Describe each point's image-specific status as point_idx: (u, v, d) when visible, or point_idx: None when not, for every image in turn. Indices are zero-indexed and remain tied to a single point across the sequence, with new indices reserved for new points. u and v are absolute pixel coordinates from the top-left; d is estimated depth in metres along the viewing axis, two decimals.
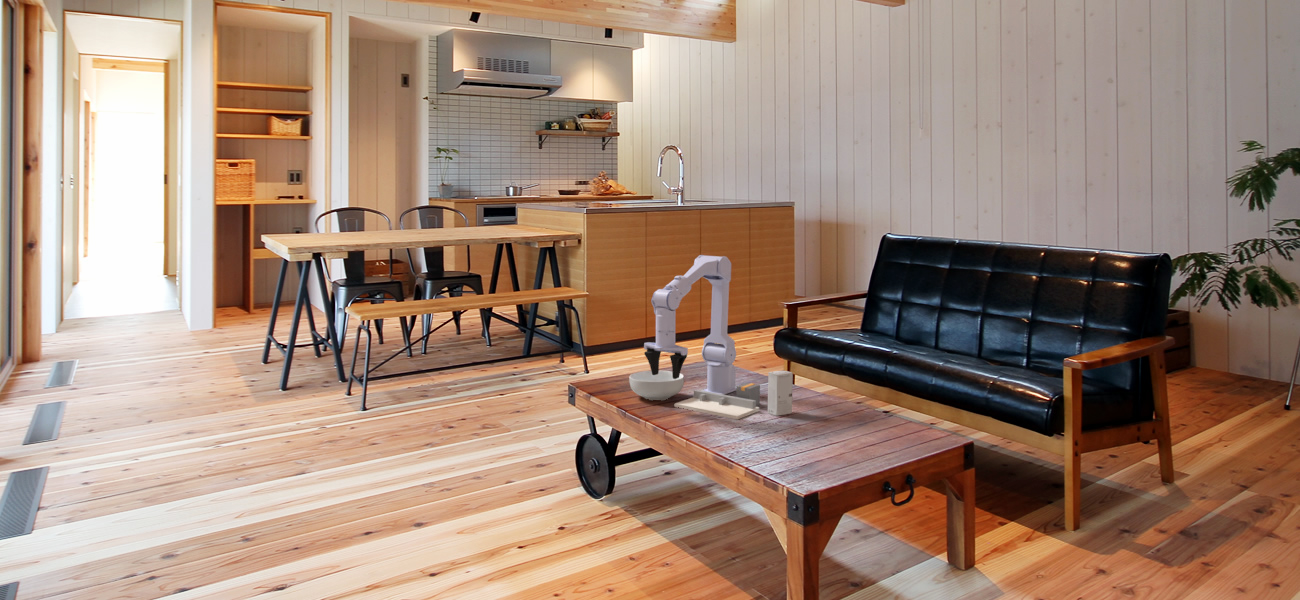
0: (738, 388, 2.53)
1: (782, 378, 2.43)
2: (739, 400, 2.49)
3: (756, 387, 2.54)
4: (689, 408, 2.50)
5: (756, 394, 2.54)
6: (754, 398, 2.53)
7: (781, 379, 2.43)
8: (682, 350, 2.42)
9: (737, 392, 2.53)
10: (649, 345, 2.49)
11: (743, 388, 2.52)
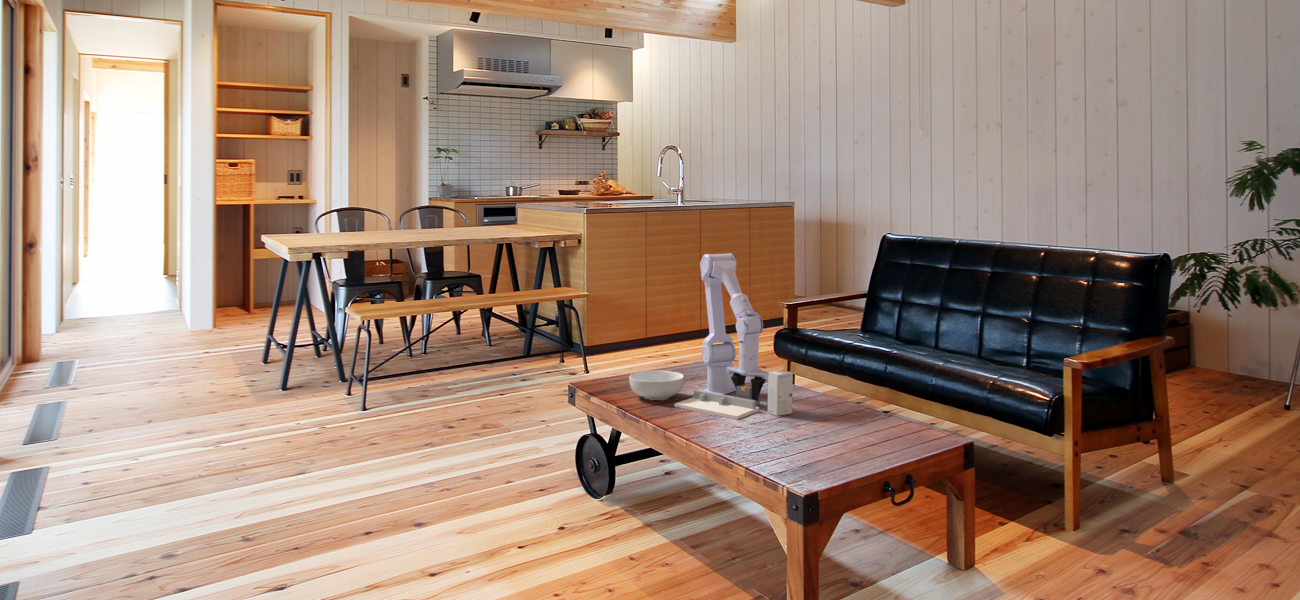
0: (738, 388, 2.53)
1: (783, 378, 2.43)
2: (739, 400, 2.49)
3: None
4: (689, 408, 2.50)
5: None
6: None
7: (781, 379, 2.43)
8: (766, 375, 2.49)
9: (737, 392, 2.53)
10: (732, 369, 2.56)
11: (743, 388, 2.52)
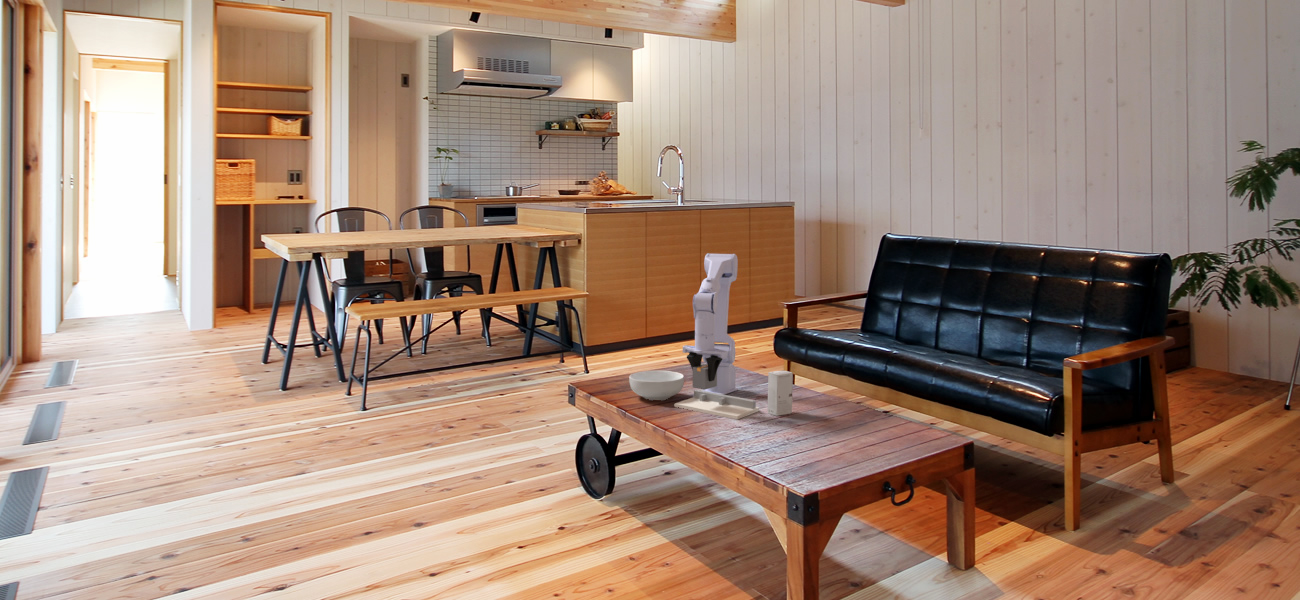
0: (694, 369, 2.48)
1: (783, 378, 2.43)
2: (739, 400, 2.49)
3: None
4: (689, 408, 2.50)
5: None
6: None
7: (781, 379, 2.43)
8: (722, 353, 2.43)
9: (693, 373, 2.48)
10: (688, 348, 2.50)
11: (699, 369, 2.47)
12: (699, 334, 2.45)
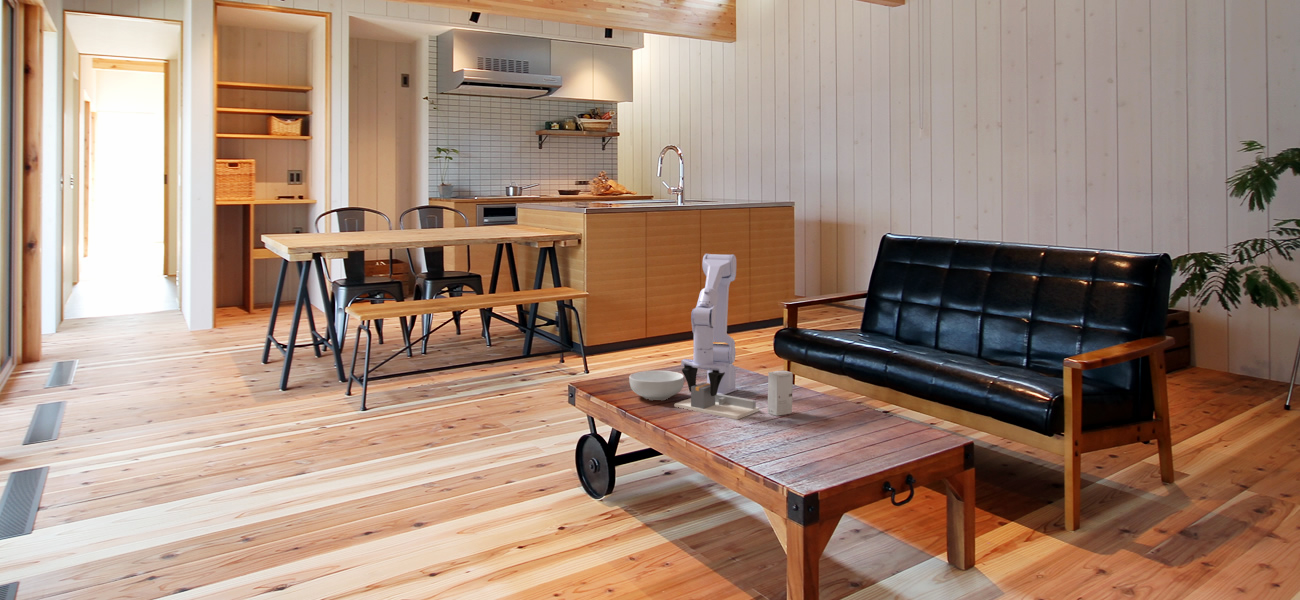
0: (693, 388, 2.48)
1: (783, 378, 2.43)
2: (739, 400, 2.49)
3: None
4: (689, 408, 2.50)
5: None
6: (709, 398, 2.49)
7: (781, 379, 2.43)
8: (720, 368, 2.44)
9: (692, 392, 2.49)
10: (686, 362, 2.50)
11: (697, 388, 2.47)
12: (697, 348, 2.46)
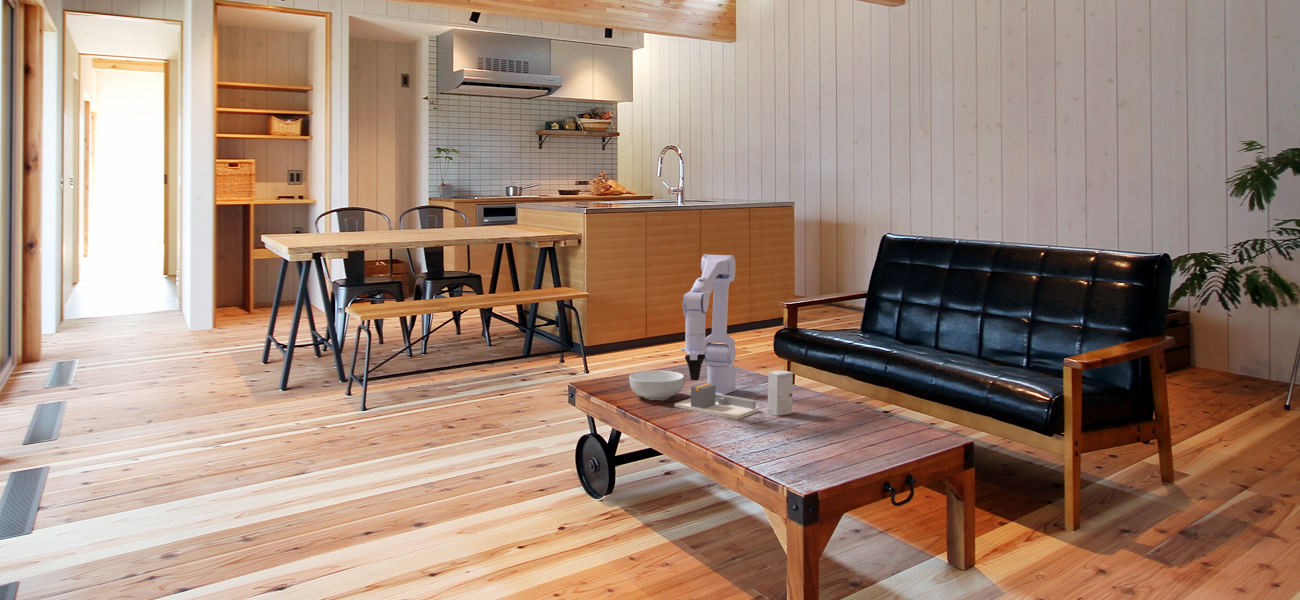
0: (693, 388, 2.48)
1: (783, 378, 2.43)
2: (739, 400, 2.49)
3: (711, 387, 2.49)
4: (689, 408, 2.50)
5: (711, 394, 2.49)
6: (709, 398, 2.49)
7: (781, 379, 2.43)
8: (690, 354, 2.38)
9: (692, 392, 2.49)
10: None
11: (697, 388, 2.47)
12: (685, 332, 2.44)
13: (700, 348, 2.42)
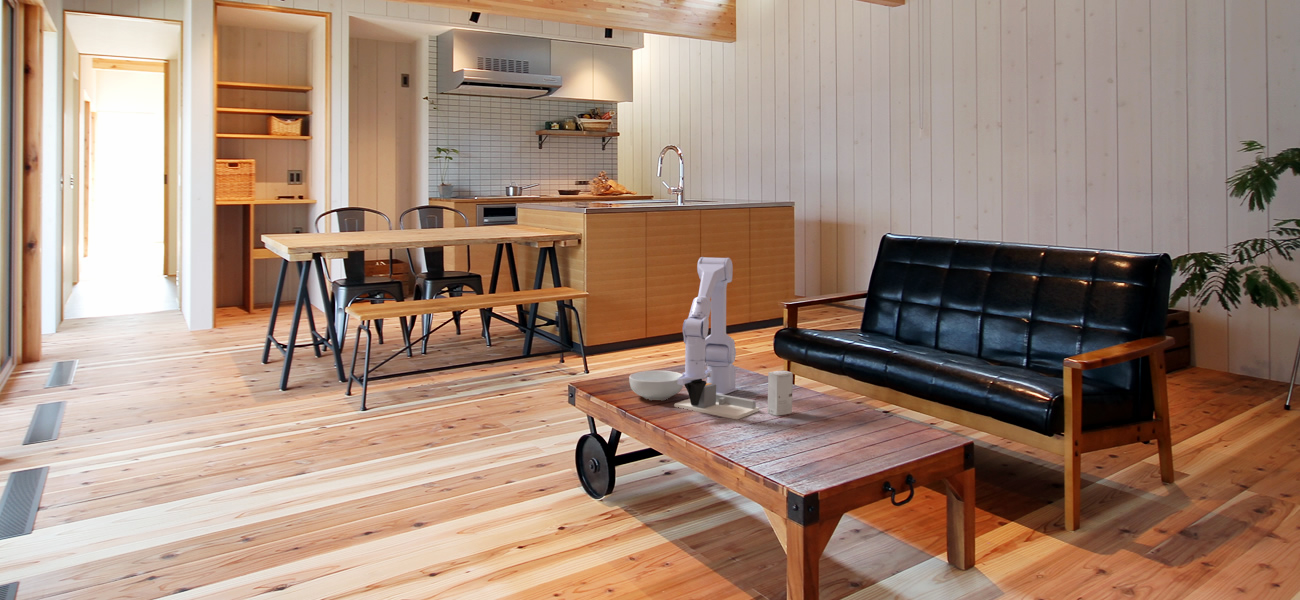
0: None
1: (783, 378, 2.43)
2: (739, 400, 2.49)
3: (712, 386, 2.49)
4: (689, 408, 2.50)
5: (712, 394, 2.50)
6: (710, 398, 2.49)
7: (781, 379, 2.43)
8: None
9: None
10: None
11: None
12: None
13: (695, 374, 2.43)
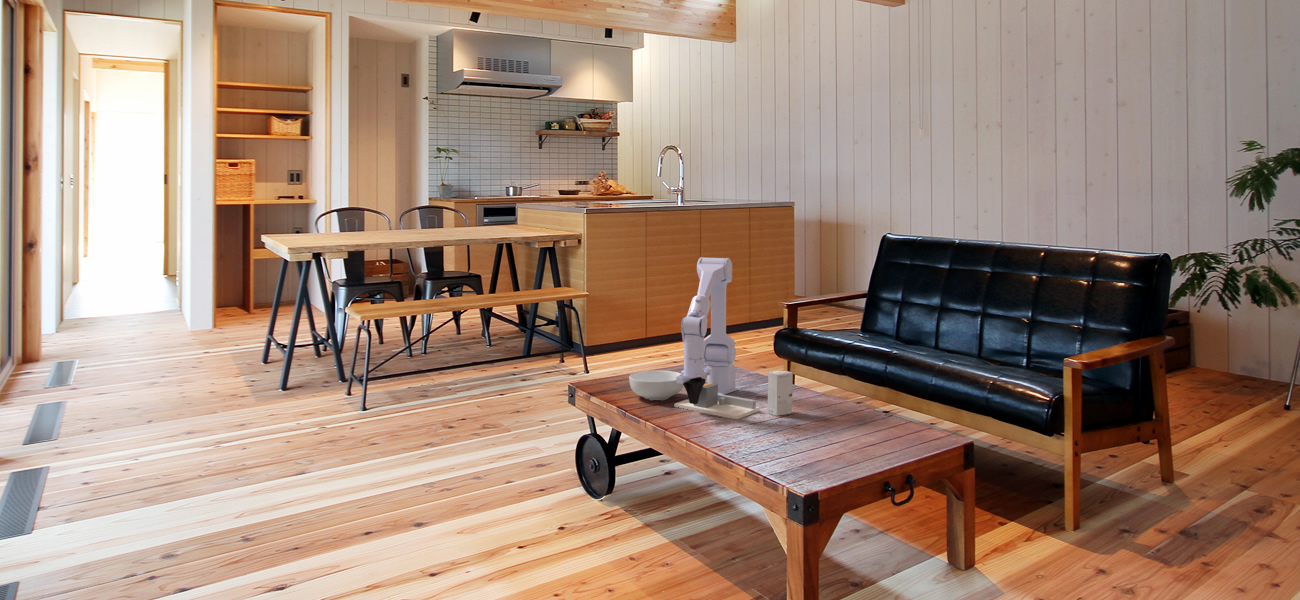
0: None
1: (782, 378, 2.43)
2: (739, 400, 2.49)
3: (713, 386, 2.50)
4: (689, 408, 2.50)
5: (714, 393, 2.50)
6: (711, 397, 2.50)
7: (781, 379, 2.43)
8: None
9: None
10: None
11: None
12: None
13: (693, 372, 2.42)
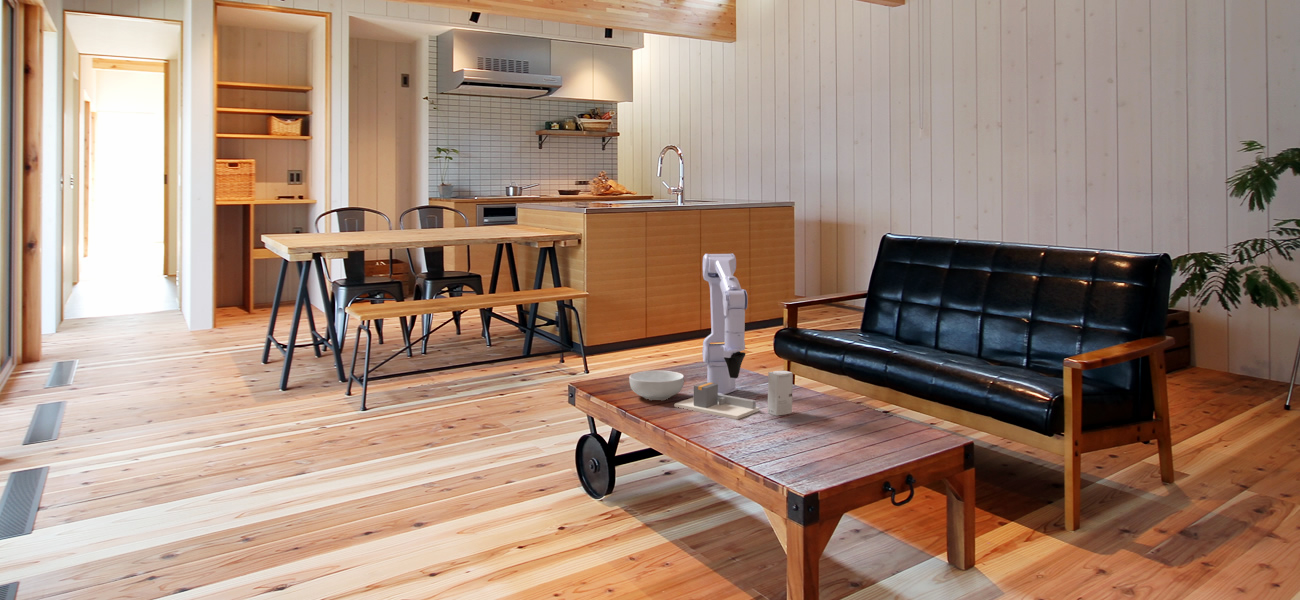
0: (695, 387, 2.49)
1: (782, 378, 2.43)
2: (739, 400, 2.49)
3: (713, 386, 2.50)
4: (689, 408, 2.50)
5: (714, 393, 2.50)
6: (711, 397, 2.50)
7: (781, 379, 2.43)
8: None
9: (694, 392, 2.50)
10: None
11: (700, 387, 2.48)
12: None
13: (737, 346, 2.44)
